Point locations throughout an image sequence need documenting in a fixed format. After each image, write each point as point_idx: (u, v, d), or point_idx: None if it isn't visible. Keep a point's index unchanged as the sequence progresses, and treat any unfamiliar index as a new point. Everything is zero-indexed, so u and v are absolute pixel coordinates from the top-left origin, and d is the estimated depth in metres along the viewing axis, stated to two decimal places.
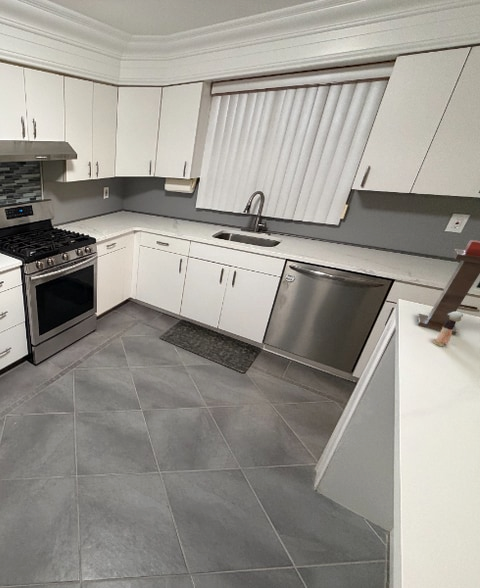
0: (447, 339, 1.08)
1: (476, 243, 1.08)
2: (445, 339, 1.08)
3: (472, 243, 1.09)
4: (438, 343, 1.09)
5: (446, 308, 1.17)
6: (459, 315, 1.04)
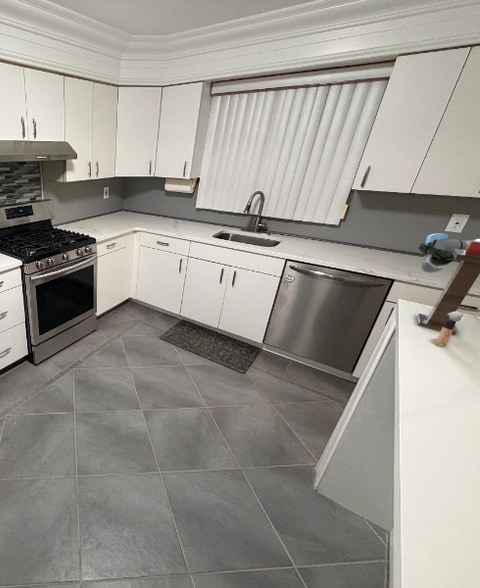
0: (447, 339, 1.08)
1: (476, 243, 1.08)
2: (445, 339, 1.08)
3: (472, 243, 1.09)
4: (438, 343, 1.09)
5: (446, 308, 1.17)
6: (459, 315, 1.04)
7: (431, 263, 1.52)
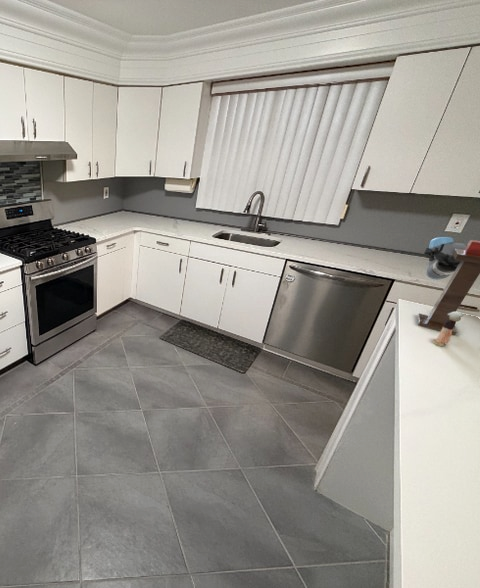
0: (447, 339, 1.08)
1: (476, 243, 1.08)
2: (445, 339, 1.08)
3: (472, 243, 1.09)
4: (438, 343, 1.09)
5: (446, 308, 1.17)
6: (459, 315, 1.04)
7: (438, 269, 1.40)
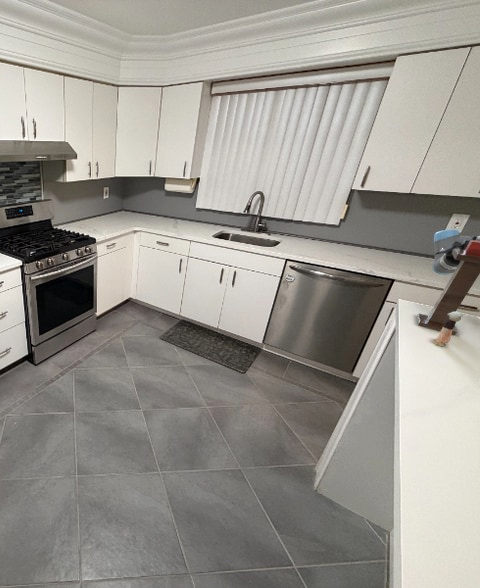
0: (447, 339, 1.08)
1: (476, 243, 1.08)
2: (445, 339, 1.08)
3: (472, 243, 1.09)
4: (438, 343, 1.09)
5: (446, 308, 1.17)
6: (459, 315, 1.04)
7: (445, 263, 1.32)
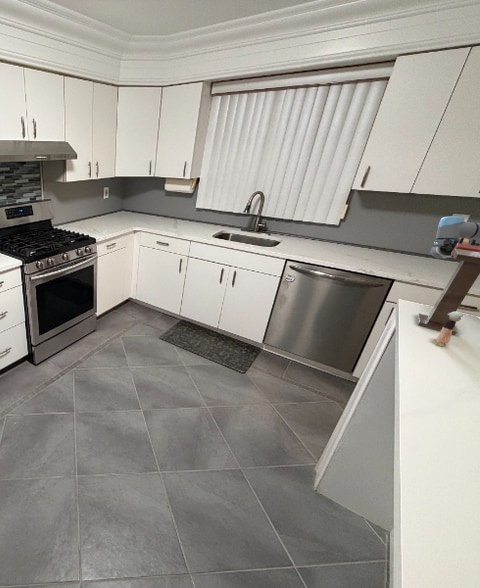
0: (447, 339, 1.08)
1: (461, 248, 1.18)
2: (445, 339, 1.08)
3: (457, 248, 1.19)
4: (438, 343, 1.09)
5: (446, 308, 1.17)
6: (459, 315, 1.04)
7: (440, 253, 1.42)
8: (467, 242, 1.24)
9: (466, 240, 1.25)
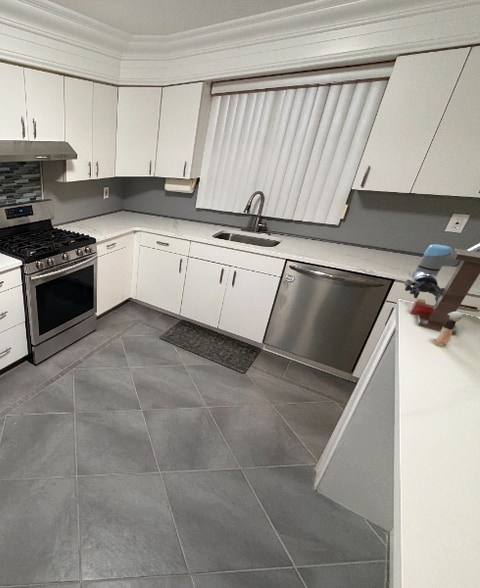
0: (447, 339, 1.08)
1: (418, 305, 1.28)
2: (445, 339, 1.08)
3: (415, 305, 1.28)
4: (438, 343, 1.09)
5: (446, 308, 1.17)
6: (459, 315, 1.04)
7: None
8: (424, 303, 1.34)
9: (423, 301, 1.35)
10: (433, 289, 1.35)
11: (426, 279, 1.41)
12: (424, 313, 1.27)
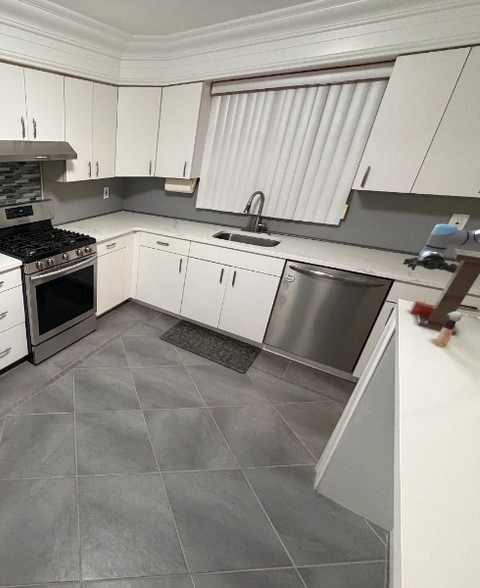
0: (447, 339, 1.08)
1: (418, 305, 1.28)
2: (445, 339, 1.08)
3: (415, 305, 1.28)
4: (438, 343, 1.09)
5: (446, 308, 1.17)
6: (459, 315, 1.04)
7: None
8: (424, 303, 1.34)
9: (423, 301, 1.35)
10: (446, 266, 1.39)
11: (433, 257, 1.45)
12: (424, 313, 1.27)
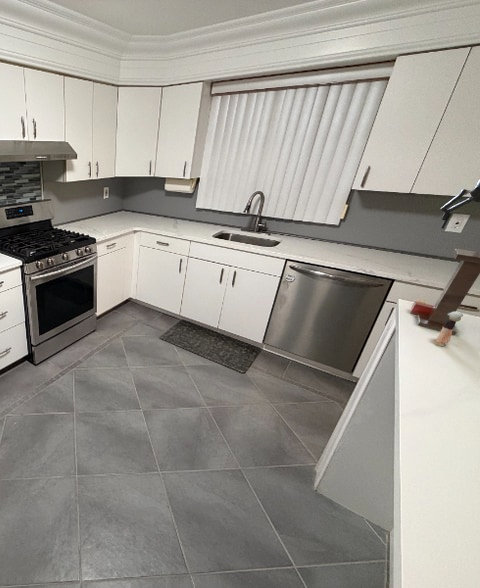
0: (447, 339, 1.08)
1: (418, 305, 1.28)
2: (445, 339, 1.08)
3: (415, 305, 1.28)
4: (438, 343, 1.09)
5: (446, 308, 1.17)
6: (459, 315, 1.04)
7: None
8: (424, 303, 1.34)
9: (423, 301, 1.35)
10: None
11: None
12: (424, 313, 1.27)
